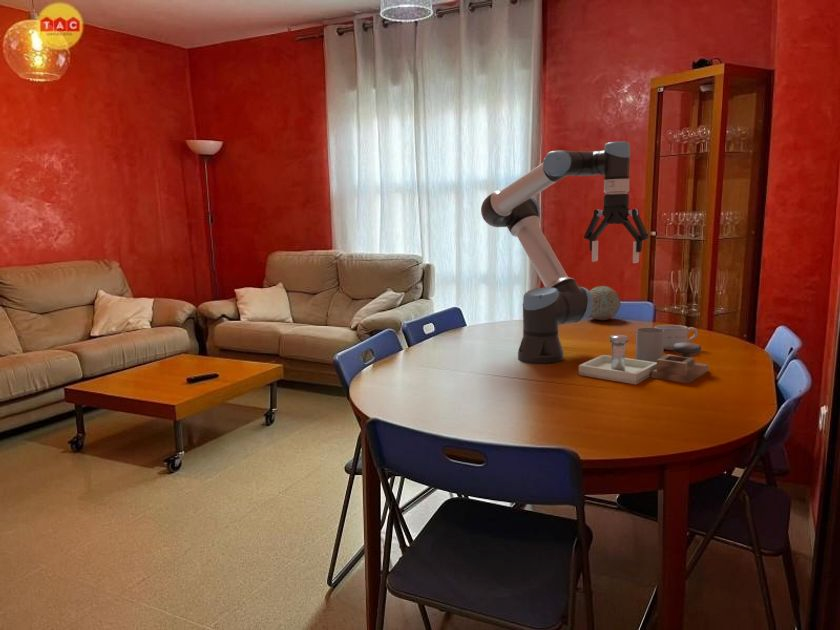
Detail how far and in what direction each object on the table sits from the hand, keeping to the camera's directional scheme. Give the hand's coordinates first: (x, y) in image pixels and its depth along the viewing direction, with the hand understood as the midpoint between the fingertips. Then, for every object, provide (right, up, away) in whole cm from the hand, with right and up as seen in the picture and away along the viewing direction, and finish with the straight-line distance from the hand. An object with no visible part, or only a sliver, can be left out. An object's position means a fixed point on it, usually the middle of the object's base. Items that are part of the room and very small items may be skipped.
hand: (614, 262), depth 200 cm
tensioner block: (+17, -34, -10) cm, 39 cm away
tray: (-1, -34, -7) cm, 35 cm away
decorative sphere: (+18, -19, +78) cm, 82 cm away
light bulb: (-1, -34, -7) cm, 34 cm away
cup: (+14, -32, +8) cm, 35 cm away
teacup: (+28, -29, +22) cm, 45 cm away
